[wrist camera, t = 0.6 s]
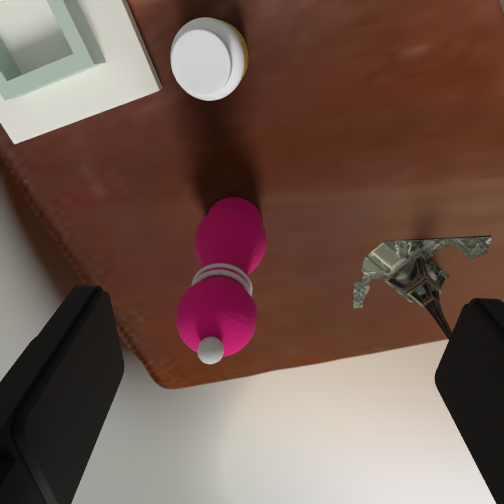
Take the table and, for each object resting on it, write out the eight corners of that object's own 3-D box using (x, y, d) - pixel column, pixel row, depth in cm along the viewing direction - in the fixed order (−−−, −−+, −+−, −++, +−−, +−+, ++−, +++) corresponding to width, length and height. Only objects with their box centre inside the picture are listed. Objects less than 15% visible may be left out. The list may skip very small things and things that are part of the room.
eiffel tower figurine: (491, 232, 40) (579, 310, 29) (471, 302, 45) (539, 392, 34) (355, 239, 41) (388, 317, 30) (351, 307, 47) (377, 395, 35)
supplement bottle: (225, 102, 34) (210, 124, 25) (177, 62, 32) (144, 71, 24) (261, 50, 31) (258, 56, 23) (211, 5, 30) (188, -7, 22)
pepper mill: (191, 231, 41) (136, 370, 24) (221, 179, 38) (181, 299, 21) (246, 259, 43) (230, 408, 26) (279, 212, 39) (286, 349, 22)
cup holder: (-103, -52, 29) (-148, -63, 26) (66, -144, 26) (38, -169, 22) (21, 141, 36) (-2, 151, 33) (162, 88, 33) (151, 94, 30)
